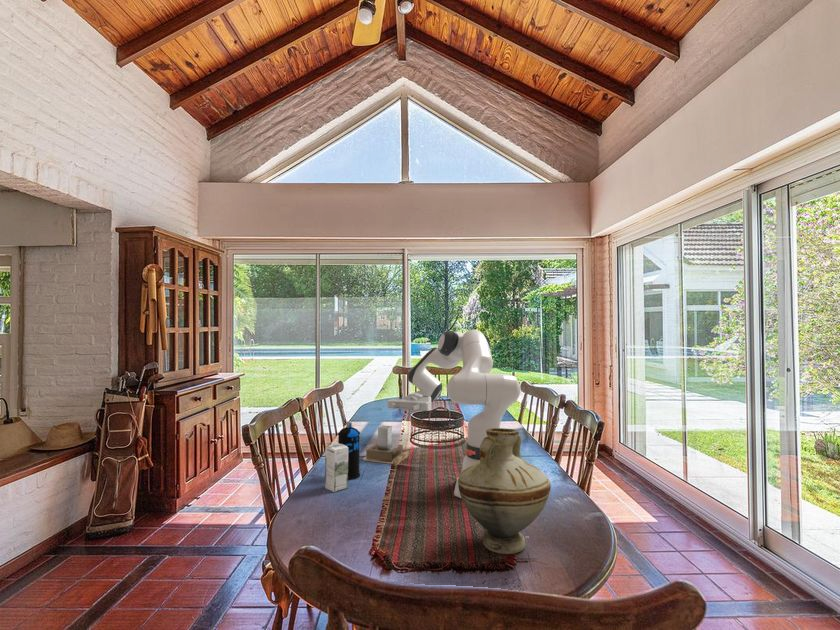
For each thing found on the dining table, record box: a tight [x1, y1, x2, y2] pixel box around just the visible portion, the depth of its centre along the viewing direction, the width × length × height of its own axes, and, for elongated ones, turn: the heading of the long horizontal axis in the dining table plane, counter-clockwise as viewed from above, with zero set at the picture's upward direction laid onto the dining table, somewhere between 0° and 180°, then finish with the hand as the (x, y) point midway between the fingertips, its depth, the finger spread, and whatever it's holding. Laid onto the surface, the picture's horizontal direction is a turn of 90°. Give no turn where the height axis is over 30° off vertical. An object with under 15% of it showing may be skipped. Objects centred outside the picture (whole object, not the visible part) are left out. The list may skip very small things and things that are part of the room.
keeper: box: [361, 442, 405, 465], centre depth 190 cm, size 14×14×4 cm
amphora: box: [457, 427, 552, 555], centre depth 118 cm, size 24×24×30 cm
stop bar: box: [377, 424, 393, 451], centre depth 190 cm, size 4×4×12 cm
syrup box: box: [324, 443, 349, 493], centre depth 155 cm, size 6×6×14 cm
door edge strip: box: [392, 449, 411, 467], centre depth 186 cm, size 16×1×2 cm, turn 159°
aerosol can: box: [337, 420, 361, 481], centre depth 167 cm, size 8×8×20 cm
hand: (402, 407), depth 201 cm, fingers open, 8 cm apart
